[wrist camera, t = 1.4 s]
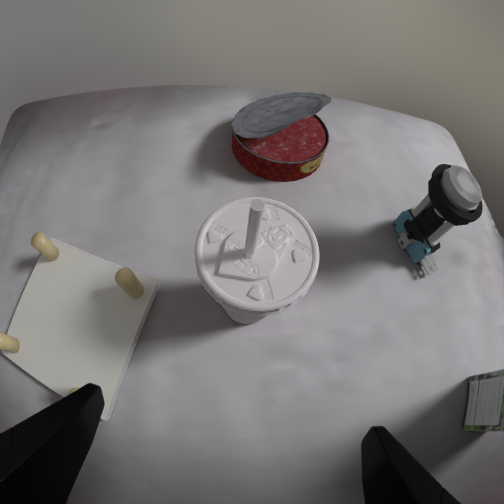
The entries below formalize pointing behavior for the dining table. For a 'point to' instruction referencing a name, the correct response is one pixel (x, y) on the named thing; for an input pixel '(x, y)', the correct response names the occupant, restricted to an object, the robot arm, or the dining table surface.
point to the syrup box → (485, 402)
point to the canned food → (281, 136)
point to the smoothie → (256, 257)
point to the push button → (439, 213)
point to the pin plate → (78, 320)
